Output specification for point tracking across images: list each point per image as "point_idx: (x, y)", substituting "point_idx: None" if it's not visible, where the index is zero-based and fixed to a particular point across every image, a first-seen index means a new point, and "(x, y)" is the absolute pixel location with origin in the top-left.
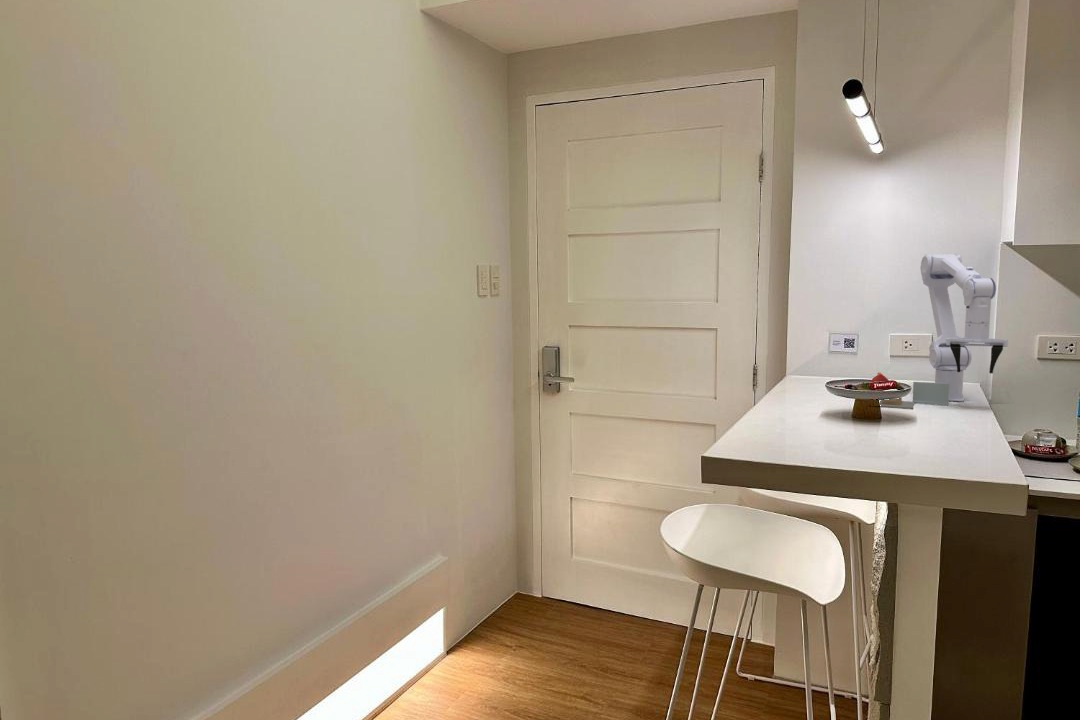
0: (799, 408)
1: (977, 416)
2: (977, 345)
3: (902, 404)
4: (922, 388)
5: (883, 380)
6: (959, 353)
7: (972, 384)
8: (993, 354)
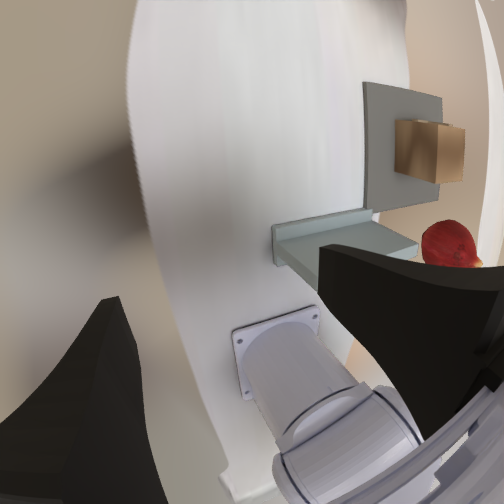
0: (489, 42)
1: (151, 16)
2: (346, 499)
3: (391, 137)
4: (381, 241)
5: (463, 241)
6: (450, 282)
7: (242, 493)
8: (66, 415)
